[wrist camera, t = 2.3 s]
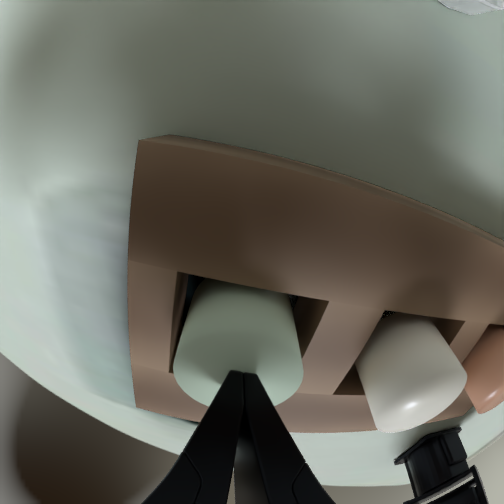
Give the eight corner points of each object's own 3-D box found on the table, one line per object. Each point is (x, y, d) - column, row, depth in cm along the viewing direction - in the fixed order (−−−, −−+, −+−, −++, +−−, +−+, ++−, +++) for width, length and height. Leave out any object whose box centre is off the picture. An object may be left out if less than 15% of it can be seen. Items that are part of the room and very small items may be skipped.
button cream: (404, 374, 12) (427, 427, 9) (339, 373, 12) (356, 436, 9) (445, 314, 10) (483, 366, 7) (379, 304, 10) (415, 369, 7)
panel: (449, 388, 17) (463, 415, 14) (149, 365, 14) (136, 407, 12) (531, 256, 12) (558, 278, 9) (169, 134, 9) (138, 140, 7)
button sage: (275, 352, 12) (281, 417, 9) (186, 336, 12) (171, 400, 9) (304, 278, 11) (323, 342, 7) (198, 257, 10) (177, 317, 7)
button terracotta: (476, 371, 13) (498, 408, 10) (440, 373, 12) (464, 418, 9) (510, 322, 11) (539, 358, 8) (479, 318, 11) (513, 362, 8)
